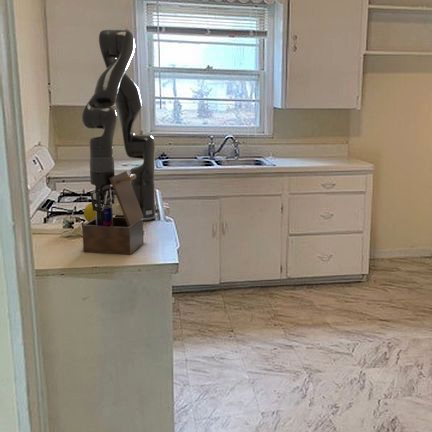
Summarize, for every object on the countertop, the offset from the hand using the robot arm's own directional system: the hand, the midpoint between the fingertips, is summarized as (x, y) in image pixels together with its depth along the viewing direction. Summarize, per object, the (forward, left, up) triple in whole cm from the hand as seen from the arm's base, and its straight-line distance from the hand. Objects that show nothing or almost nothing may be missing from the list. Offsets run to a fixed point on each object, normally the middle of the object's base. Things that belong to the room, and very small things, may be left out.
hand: (104, 220), depth 189 cm
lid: (0, +8, +8) cm, 11 cm away
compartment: (0, +3, -9) cm, 10 cm away
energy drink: (0, 0, -8) cm, 8 cm away
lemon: (-28, -17, -9) cm, 34 cm away
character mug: (-20, -2, -9) cm, 22 cm away
